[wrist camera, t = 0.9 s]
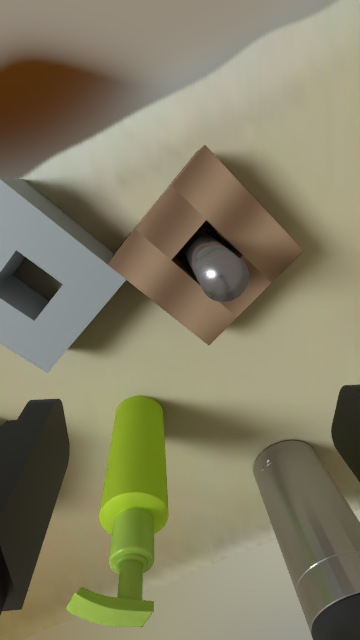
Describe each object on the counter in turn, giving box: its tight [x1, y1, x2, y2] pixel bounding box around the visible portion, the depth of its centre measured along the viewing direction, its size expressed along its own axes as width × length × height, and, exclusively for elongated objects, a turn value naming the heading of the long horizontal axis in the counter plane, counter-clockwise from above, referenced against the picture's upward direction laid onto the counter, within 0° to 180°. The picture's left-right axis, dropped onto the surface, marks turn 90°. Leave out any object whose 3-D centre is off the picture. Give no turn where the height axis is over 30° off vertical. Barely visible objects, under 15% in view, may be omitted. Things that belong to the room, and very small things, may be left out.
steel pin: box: [183, 231, 249, 302], centre depth 26 cm, size 3×3×12 cm
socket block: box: [0, 177, 126, 373], centre depth 29 cm, size 12×12×5 cm
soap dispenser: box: [66, 396, 168, 627], centre depth 29 cm, size 6×7×20 cm
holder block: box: [108, 145, 303, 345], centre depth 29 cm, size 12×12×5 cm
